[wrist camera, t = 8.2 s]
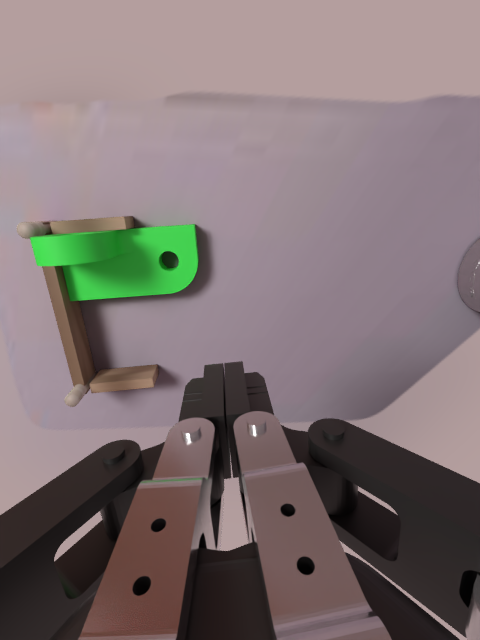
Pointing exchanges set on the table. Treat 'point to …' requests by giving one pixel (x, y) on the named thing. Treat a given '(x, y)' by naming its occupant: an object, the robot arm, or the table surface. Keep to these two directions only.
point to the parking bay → (73, 321)
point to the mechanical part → (121, 260)
